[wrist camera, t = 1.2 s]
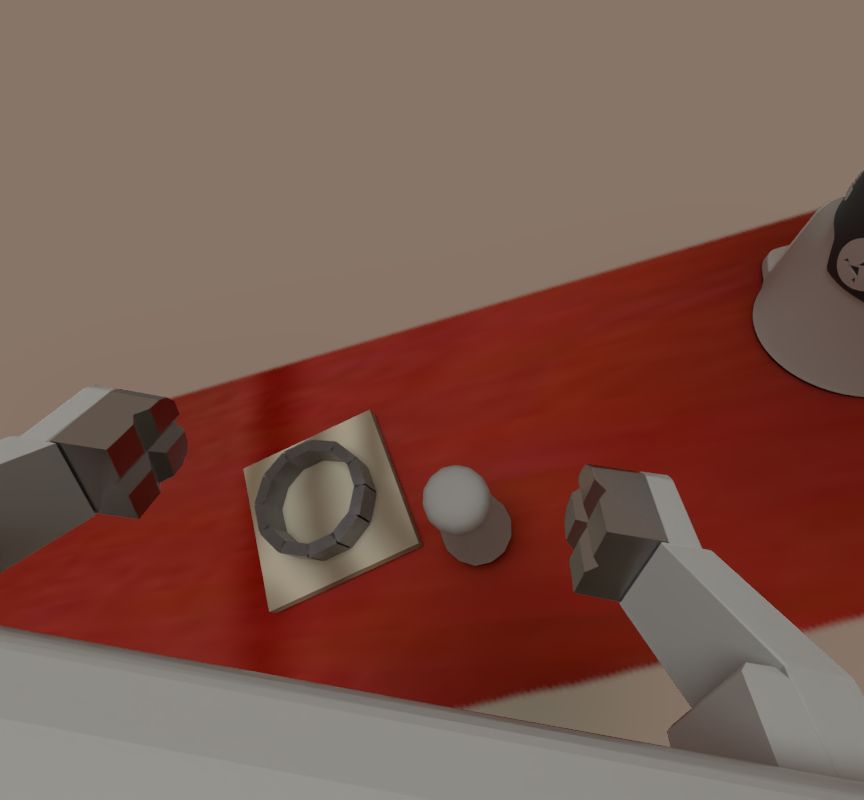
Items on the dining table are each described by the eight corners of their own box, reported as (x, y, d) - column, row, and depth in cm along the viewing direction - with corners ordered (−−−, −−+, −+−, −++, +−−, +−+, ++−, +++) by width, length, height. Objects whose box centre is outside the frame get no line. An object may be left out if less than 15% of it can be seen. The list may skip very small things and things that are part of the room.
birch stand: (374, 415, 46) (369, 409, 44) (422, 545, 39) (418, 543, 38) (252, 473, 46) (243, 468, 45) (278, 612, 39) (269, 611, 38)
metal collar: (357, 434, 44) (345, 422, 41) (389, 530, 39) (378, 524, 36) (265, 477, 44) (247, 468, 41) (285, 578, 39) (267, 575, 36)
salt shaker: (495, 581, 36) (473, 563, 25) (434, 548, 39) (390, 517, 27) (524, 516, 38) (516, 472, 27) (465, 488, 40) (435, 436, 29)
